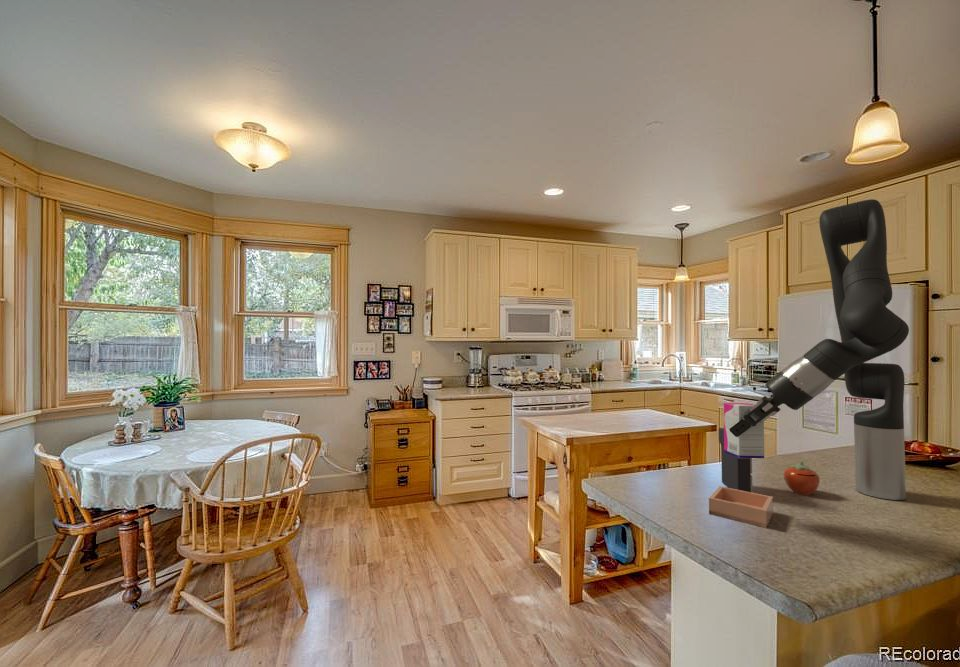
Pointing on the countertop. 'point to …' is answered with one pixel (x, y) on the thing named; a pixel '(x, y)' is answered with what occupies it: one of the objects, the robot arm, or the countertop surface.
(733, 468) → the calculator
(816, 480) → the tomato
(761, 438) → the supplement box
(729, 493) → the dish
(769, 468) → the countertop surface
